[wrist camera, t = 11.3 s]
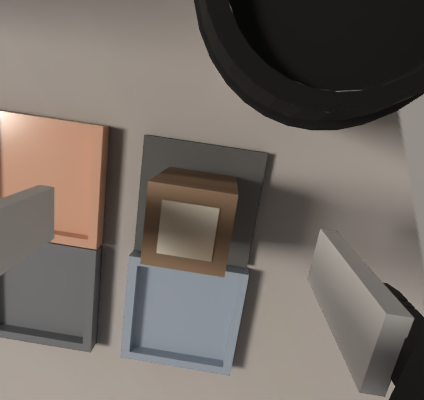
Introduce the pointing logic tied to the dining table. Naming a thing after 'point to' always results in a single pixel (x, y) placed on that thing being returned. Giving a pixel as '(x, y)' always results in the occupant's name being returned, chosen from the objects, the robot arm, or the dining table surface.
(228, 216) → the letter block
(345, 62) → the coffee cup
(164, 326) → the tray slate
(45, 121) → the tray terracotta
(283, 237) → the dining table surface
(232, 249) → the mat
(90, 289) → the tray charcoal
